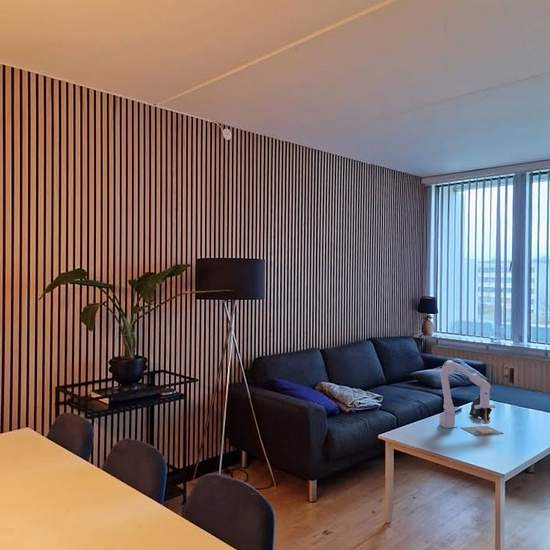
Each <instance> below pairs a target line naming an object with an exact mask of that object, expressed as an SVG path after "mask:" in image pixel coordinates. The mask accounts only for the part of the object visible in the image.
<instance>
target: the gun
mask: <svg viewBox="0 0 550 550" xmlns="http://www.w3.org/2000/svg"><path fill="white" fill-rule="evenodd" d="M476 405H480V394H479V395H478V396H477V397H473V398H472V403H471V405H470V410H469V413H468V415H469V416H471V417H473V418H474V419H477V418H481V414H480V412H479V410H478V409H475V408H474V406H476ZM490 420H491V417H490V416H489V417H488V419H487V421H488V422H490Z"/></svg>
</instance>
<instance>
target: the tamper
mask: <svg viewBox="0 0 550 550" xmlns="http://www.w3.org/2000/svg"><path fill="white" fill-rule="evenodd" d="M484 410H486V411H485V419H484V420H483V419H482V420H480V423H481V424H484V425H490V421H487V409H485V408H484Z"/></svg>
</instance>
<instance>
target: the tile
mask: <svg viewBox="0 0 550 550" xmlns="http://www.w3.org/2000/svg"><path fill="white" fill-rule="evenodd" d="M476 430H477V431H479V432H481V433H483V434H485V433H493V431H492V430H490V429H488V428H486V427H485V428H476Z"/></svg>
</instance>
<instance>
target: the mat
mask: <svg viewBox="0 0 550 550" xmlns="http://www.w3.org/2000/svg"><path fill="white" fill-rule="evenodd" d="M485 427H486V428H488V429H490V430H492V431H493V433H485V434H483V433H481V432H479V431H477V430H476V428H485ZM460 428H461V429H462V430H463V431H466V432H468V433H469V434H472V435H474V436H477V437H478V436H491V435H503V434H504V433H503V432H501V431H499V430H497V429H495V428H492V427H491V426H489V425H483V426H482V425H481V426H478V425H477V426H464V427H460Z"/></svg>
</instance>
